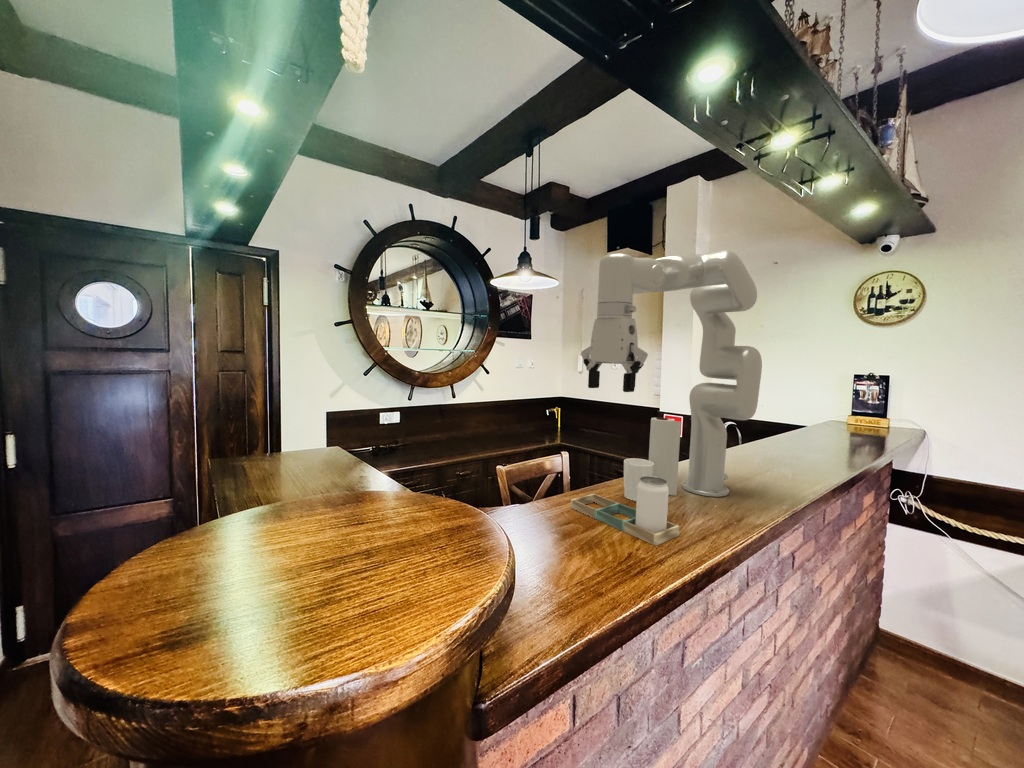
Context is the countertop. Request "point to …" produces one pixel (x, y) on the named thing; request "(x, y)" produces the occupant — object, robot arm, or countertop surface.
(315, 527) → the countertop surface
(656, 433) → the paper towel roll
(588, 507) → the slot rack
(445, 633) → the countertop surface
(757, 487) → the countertop surface
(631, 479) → the white cup
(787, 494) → the countertop surface
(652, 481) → the can
